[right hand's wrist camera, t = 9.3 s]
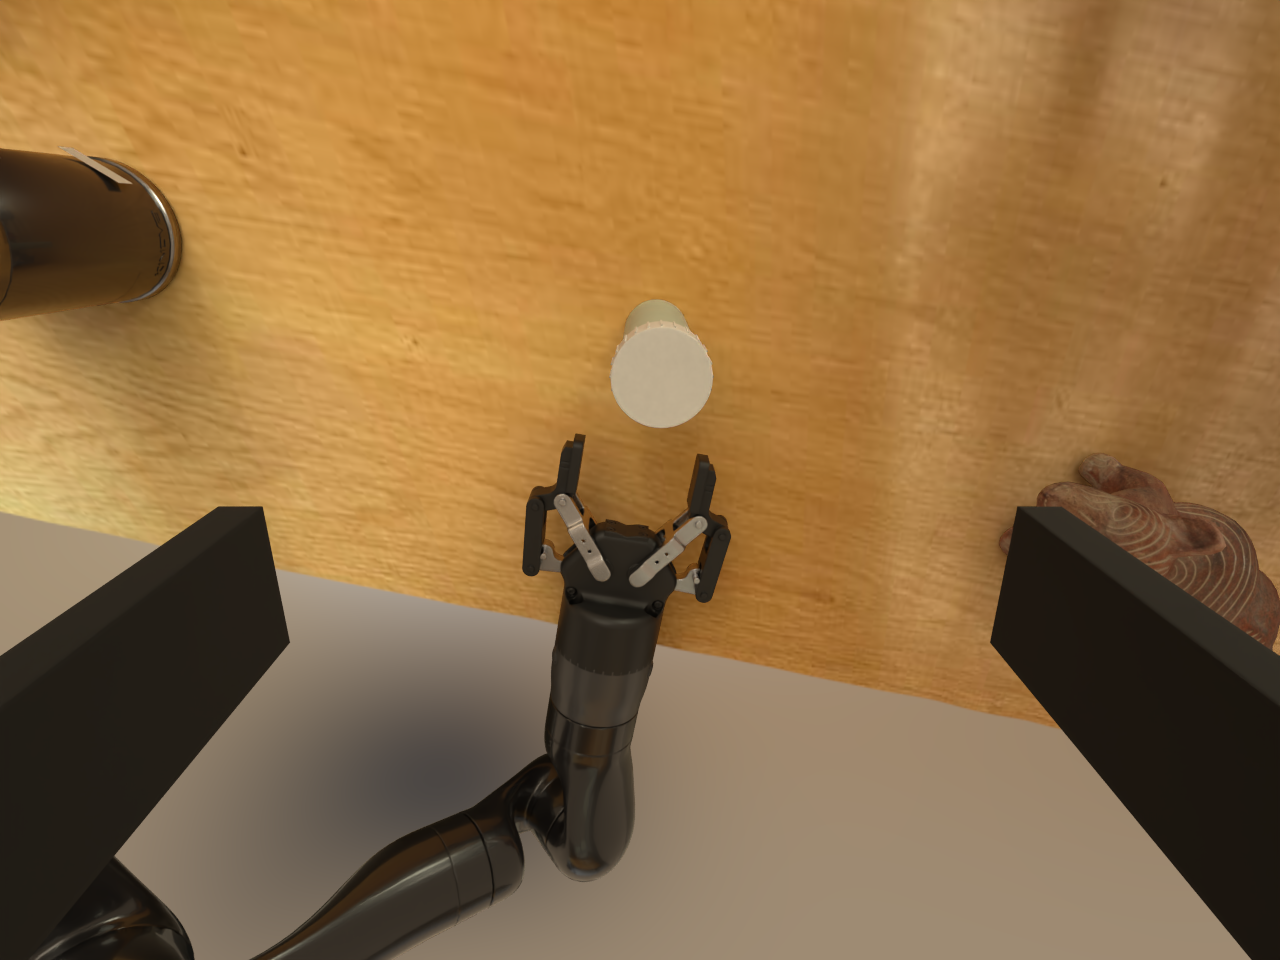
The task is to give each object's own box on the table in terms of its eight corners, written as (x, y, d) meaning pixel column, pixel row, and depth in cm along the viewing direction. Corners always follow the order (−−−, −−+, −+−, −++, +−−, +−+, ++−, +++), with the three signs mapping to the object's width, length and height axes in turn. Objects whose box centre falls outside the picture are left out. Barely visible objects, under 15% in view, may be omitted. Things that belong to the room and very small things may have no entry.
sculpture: (1024, 375, 52) (1164, 434, 38) (1247, 544, 57) (1444, 652, 43) (900, 518, 56) (985, 618, 42) (1117, 664, 61) (1259, 798, 47)
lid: (634, 431, 40) (633, 444, 38) (595, 343, 38) (592, 351, 36) (724, 395, 39) (728, 406, 37) (688, 303, 37) (691, 309, 35)
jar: (639, 372, 53) (637, 432, 38) (614, 314, 51) (603, 353, 36) (696, 348, 52) (718, 400, 37) (673, 289, 50) (686, 318, 36)
